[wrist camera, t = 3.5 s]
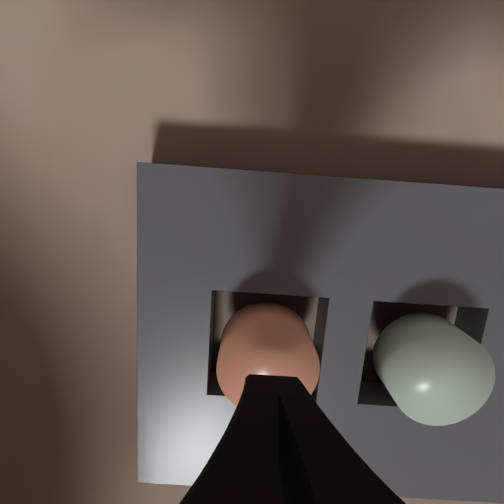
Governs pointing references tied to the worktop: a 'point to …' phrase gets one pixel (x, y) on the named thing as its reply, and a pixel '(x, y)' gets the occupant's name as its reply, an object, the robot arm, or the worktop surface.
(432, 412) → the sage button
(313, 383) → the terracotta button
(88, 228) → the worktop surface
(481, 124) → the worktop surface
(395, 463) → the button panel
